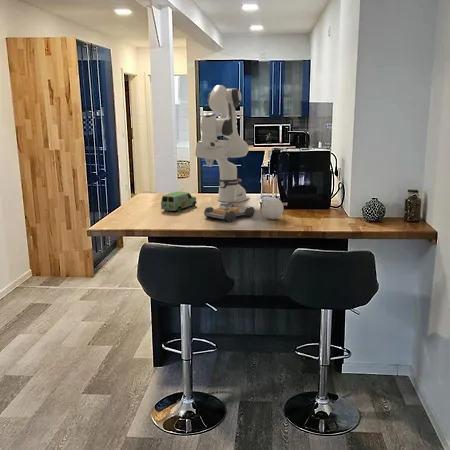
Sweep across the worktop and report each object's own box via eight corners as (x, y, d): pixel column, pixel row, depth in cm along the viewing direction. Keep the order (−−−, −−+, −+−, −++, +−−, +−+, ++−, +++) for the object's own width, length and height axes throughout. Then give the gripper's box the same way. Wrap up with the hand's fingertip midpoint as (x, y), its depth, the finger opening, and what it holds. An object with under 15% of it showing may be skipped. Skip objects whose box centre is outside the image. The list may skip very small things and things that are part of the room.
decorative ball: (257, 217, 283) (257, 196, 280) (276, 215, 288) (276, 195, 285) (267, 222, 272) (268, 200, 270) (287, 220, 277) (287, 198, 274)
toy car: (197, 206, 317) (197, 190, 315) (175, 213, 296) (174, 196, 294) (183, 204, 322) (182, 189, 320) (160, 211, 301) (159, 195, 299)
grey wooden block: (226, 210, 285) (226, 201, 284) (232, 211, 282) (232, 202, 281) (219, 212, 281) (219, 203, 280) (224, 213, 278) (224, 204, 277)
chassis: (232, 211, 299) (232, 201, 298) (255, 216, 287) (255, 205, 286) (202, 218, 282) (202, 207, 281) (226, 223, 270) (226, 212, 269)
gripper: (192, 141, 296) (193, 165, 299) (218, 144, 282) (218, 168, 286) (200, 140, 300) (200, 163, 304) (225, 143, 287) (225, 167, 290)
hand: (209, 166), depth 295 cm, fingers closed
